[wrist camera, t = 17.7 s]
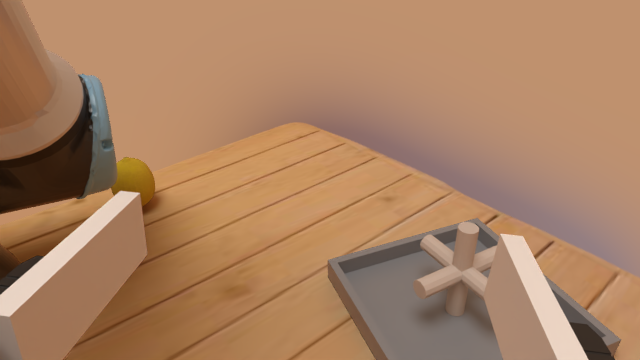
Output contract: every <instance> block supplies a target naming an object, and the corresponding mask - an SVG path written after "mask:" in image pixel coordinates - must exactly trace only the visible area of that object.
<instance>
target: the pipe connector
mask: <svg viewBox="0 0 640 360" xmlns="http://www.w3.org/2000/svg"><path fill="white" fill-rule="evenodd" d="M478 234H479V227H478V226H477V225H476V224H474V223H471V222H462V223H460V224H459V225H458V229H457V236H456V242H455V249H454V252H453V251H452V250H451V249H449V248H448V247H447V246H445V245H444V244H443V243H442V242H440V241H439V240H438V239H436V238H435V237H434V236H433V235H427V236H425V237H424V238H423V239H422V241H421V243H420V248H421V249H422V250H424V251H425V252H426V253H427V254H428V255H430V256H431V257H432V258H433V259H434V260H436V261H437V262H438V263H439V264H440V265H442V266H443V267H444V268H442V269H440V270H438V271H435V272H433V273H431V274H429V275H426V276H424V277H422V278H419V279H417V280H415V281H414V283H413V288H414V291H415V293H416V294H417V296H418V297H419V298H421V299H426V298H428V297H430V296H432V295H434V294H437V293H439V292H441V291H443V290H445V289H447V288H448V294H447V300H446V307H445V309H446V311H447V313H449V314H450V315H452V316H461V315H463V313H464V310H465V304H466V299H467V293H468V288H469V289H470V290H472V291H473V292H474V293H475V294H476V295H478V296H479V297H480V298H481V299H482V300H484V297H483V295H484V291H485V288H486V284H487V281H488V278H487V277H485V276H484V275H483V274H481V273H482V272H484V271H487V270H489V269H491V266H492V262H493V259H494V255H495V251H496V248H497V246H493V247H491V248H489V249H486V250H484V251H482V252H479V253H477V254H475V250H476V244H477V239H478ZM484 301H485V300H484Z"/></svg>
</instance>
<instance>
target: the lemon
mask: <svg viewBox="0 0 640 360" xmlns="http://www.w3.org/2000/svg"><path fill="white" fill-rule="evenodd" d="M116 164H117V180H116V182H115V184H114V185H113V186H112V187H111V189H112V193H113V195H114V196H115V195H116V194H117V193H118V192H120V191H127V192H135V193H140V197H141V205H142V207H143V206H144V205H145V204H147V203H148V202H149V201H150V200H151V199H152V197H153V195H154V192H155V181H154V177H153V174H152V172H151V171H150V169H149V168H148V166H147V165H146V164H145V163H144V162H142V161H141V160H139V159H135V158H129V157H124V158H123V159H122V160H121V161H119V162H118V163H116Z"/></svg>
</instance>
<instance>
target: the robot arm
mask: <svg viewBox="0 0 640 360" xmlns="http://www.w3.org/2000/svg"><path fill="white" fill-rule="evenodd" d="M116 180H117V164H116V157H115V151H114V145H113V143H112V134H111V126H110V121H109V116H108V110H107V106H106V100H105V96H104V91H103V87H102V83H101V82H100V80H99V79H98V78H97V77H95V76H92V75H91V76H86V75H84V74H82V75H77V73H76V72H75V70H74V69H73V67H72V66H71V65H70V64H69V63H68V62H67V61H66V60H64V59H63V58H62V57H60V56H58V55H57V54H55V53H53V52H51V51H49V50H46V49H44V47H43V44H42V42H41V40H40V38H39V36H38V34H37V32H36V30H35V28H34V25H33V23H32V22H31V19H30V17H29V15H28V13H27V11H26V9H25V6H24V4H23V2H22V0H0V214H3V213H8V212H13V211H17V210H22V209H26V208H31V207H36V206H40V205H45V204H49V203H54V202H59V201H63V200H68V199H72V198H77V199H82V198H85V197H86V196H87V195H90V194H94V193H97V192H101V191H105V190H107V189H109V188H111V187H112V186H113V185H114V184H115V182H116ZM146 256H147V246H146V238H145V229H144V221H143V213H142V205H141V197H140V193H135V192H127V191H120V192H118V193H117V194H116V195H115V196H114V197H113V198H111V199H110V200H109V201H108V202H107V203H106V204H105V205H103V206H102V207H101V208H100V209H99V210H98V211H96V212H95V213H94V214H93V215H92V216H91V217H90V218H88V219H87V220H86V221H85V222H84V223H83V224H81V225H80V226H79V227H78V228H77V229H76V230H75V231H73V232H72V233H71V234H70V235H69V236H68V237H66V238H65V239H64V240H63V241H62V242H61V243H60V244H58V245H57V246H56V247H55V248H54V249H53V250H51V251H50V252H49V253H48V254H47V255H46V256H45V257H44V256H35V257H33V258H31V259H29V260H27V261H25V262H23V263H21V264H20V263H19V261H18V260H17V259H16V257H15V256H14V255H13V254H12V253H10V252H9V251H8V250H7V249H6V248H5V247H3V246H2V245H1V244H0V360H63V359H64V358H65V356H66V355H67V354H68V353H69V351H70V350H71V349H72V348H73V347H74V345H75V344H76V343H77V342H78V340H79V339H80V338H81V337H82V335H83V334H84V333H85V332H86V330H87V329H88V328H89V327H90V325H91V324H92V323H93V322H94V320H95V319H96V318H97V317H98V315H99V314H100V313H101V312H102V310H103V309H104V308H105V307H106V305H107V304H108V303H109V302H110V300H111V299H112V298H113V297H114V296H115V294H116V293H117V292H118V291H119V289H120V288H121V287H122V286H123V284H124V283H125V282H126V281H127V279H128V278H129V277H130V276H131V274H132V273H133V272H134V271H135V269H136V268H137V267H138V266H139V264H140V263H141V262H142V261H143V259H144V258H145V257H146ZM483 297H484V300H485V303H486V306H487V310H488V313H489V316H490V319H491V322H492V325H493V329H494V332H495V335H496V338H497V341H498V344H499V348H500V351H501V354H502V357H503V360H615V359H614V357H612V356H611V352H610V350H609V349H608V347H607V345H606V344H605V342H604V340H603V339H602V338H601V337H600V336H599V335H598V334H597V333H596V332H595V331H594V330H593V329H592V328H590V327H589V326H588V325H587V324H581V323H573V322H568V320H567V318H566V316H565V315H564V313H563V311H562V309H561V307H560V305H559V303H558V301H557V299H556V298H555V296H554V294H553V292H552V290H551V288H550V286H549V284H548V283H547V281H546V279H545V277H544V275H543V273H542V271H541V269H540V268H539V266H538V264H537V262H536V260H535V258H534V256H533V254H532V253H531V251H530V249H529V247H528V245H527V243H526V241H525V239H524V238H523V236H516V235H507V234H500V237H499V241H498V244H497V248H496V251H495V255H494V259H493V262H492V266H491V270H490V273H489V277H488V281H487V284H486V288H485V291H484V295H483Z"/></svg>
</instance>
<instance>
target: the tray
mask: <svg viewBox="0 0 640 360" xmlns="http://www.w3.org/2000/svg"><path fill="white" fill-rule="evenodd" d="M465 222H471V223H474V224H476V225H477V226H478V227H479V234H478V239H477V244H476V250H475V254H477V253H479V252H482V251H484V250H486V249H489V248H491V247H493V246H497V244H498V241H499V236H498V235H497V234H495V233H494V232H493V231H492V230H491V229H490V228H488V227H487V226H486V225H485V224H484V223H482V222H481V221H480V220H479V219H478V218H476V219H472V220H468V221H465ZM461 223H462V222H461ZM459 224H460V223H458V224H454V225H451V226H447V227H444V228H440V229H436V230H433V231H429V232H426V233H422V234H419V235H415V236H412V237H408V238H404V239H401V240H397V241H394V242H390V243H387V244H383V245H380V246H376V247H372V248H369V249H365V250H362V251H358V252H355V253H351V254H348V255H344V256H340V257H337V258H333V259H330V260H328V278H329V279H330V281H331V283H332V285H333V286H334V288H335V290H336V291H337V293H338V295H339V297H340V298H341V300H342V302H343V303H344V305H345V307H346V309H347V310H348V312H349V314H350V316H351V317H352V319H353V321H354V322H355V324H356V326H357V328H358V329H359V331H360V333H361V334H362V336H363V338H364V340H365V341H366V343H367V345H368V347H369V348H370V350H371V352H372V353H373V355H374V357H375V359H376V360H503V357H502V354H501V351H500V348H499V344H498V341H497V338H496V335H495V332H494V329H493V325H492V322H491V319H490V316H489V313H488V310H487V306H486V303H485V301H484V300H482V299H481V298H480V297H479V296H478V295H476V294H475V293H474V292H473V291H472V290H470V289H469V288H468V293H467V299H466V304H465V310H464V313H463V315H461V316H452V315H450V314H449V313H447V311H446V309H445V307H446V300H447V294H448V288H447V289H445V290H443V291H441V292H439V293H437V294H434V295H432V296H430V297H428V298H426V299H421V298H419V297H418V296H417V294H416V293H415V291H414V288H413V283H414V281H415V280H417V279H419V278H422V277H424V276H426V275H429V274H431V273H433V272H435V271H438V270H440V269H442V268H444V267H443V266H442V265H440V264H439V263H438V262H437V261H436V260H434V259H433V258H432V257H431V256H430V255H428V254H427V253H426V252H425V251H424V250H422V249H421V248H420V243H421V241H422V239H423V238H424V237H425V236H427V235H433V236H434V237H435V238H436V239H438V240H439V241H440V242H442V243H443V244H444V245H445V246H447V247H448V248H449V249H451V250H452V251H453V252H454V249H455V242H456V236H457V229H458V225H459ZM490 270H491V269H489V270H487V271H484V272H482V273H481V274H483V275H484V276H485V277H487V278H488V277H489V273H490ZM543 275H544V274H543ZM544 277H545V279H546V281H547V283H548V284H549V286H550V288H551V290H552V292H553V294H554V296H555V298H556V299H557V301H558V303H559V305H560V307H561V309H562V311H563V313H564V315H565V316H566V318H567V320H568V322H573V323H581V324H587V325H588V326H589V327H590V328H592V329H593V330H594V331H595V332H596V333H597V334H598V335H599V336H600V337H601V338H602V339H603V340H604V342H605V344H606V345H607V347H608V349H609V350H610V352H611V356H612V357H613V356H614V354H615V352H616V350H617V348H618V346H619V343H620V341H621V339H620V338H618V337H617V336H616V335H615V334H614V333H612V332H611V331H610V330H609V329H608V328H607V327H605V326H604V325H603V324H602V323H601V322H599V321H598V320H597V319H596V318H595V317H594V316H592V315H591V314H590V313H589V312H588V311H586V310H585V309H584V308H583V307H582V306H581V305H579V304H578V303H577V302H576V301H575V300H573V299H572V298H571V297H570V296H569V295H568V294H566V293H565V292H564V291H563V290H562V289H560V288H559V287H558V286H557V285H556V284H555V283H553V282H552V281H551V280H550V279H549V278H547V277H546V276H545V275H544Z"/></svg>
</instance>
